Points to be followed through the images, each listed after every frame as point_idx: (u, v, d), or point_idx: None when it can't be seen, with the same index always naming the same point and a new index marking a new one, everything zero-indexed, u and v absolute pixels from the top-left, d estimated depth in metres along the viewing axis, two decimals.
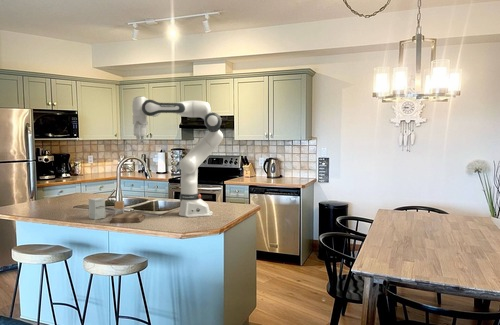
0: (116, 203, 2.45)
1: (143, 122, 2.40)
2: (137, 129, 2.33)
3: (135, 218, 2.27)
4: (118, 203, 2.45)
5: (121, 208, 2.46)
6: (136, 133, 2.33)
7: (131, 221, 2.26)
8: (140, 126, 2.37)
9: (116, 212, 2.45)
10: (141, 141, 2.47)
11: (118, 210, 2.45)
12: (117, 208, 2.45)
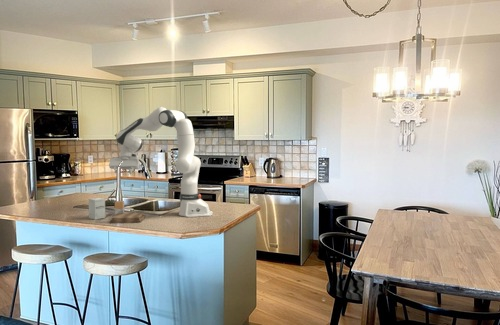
0: (116, 203, 2.45)
1: (120, 155, 2.63)
2: None
3: (135, 218, 2.27)
4: (118, 203, 2.45)
5: (121, 208, 2.46)
6: None
7: (131, 221, 2.26)
8: (115, 159, 2.62)
9: (116, 212, 2.45)
10: (129, 172, 2.58)
11: (118, 210, 2.45)
12: (117, 208, 2.45)
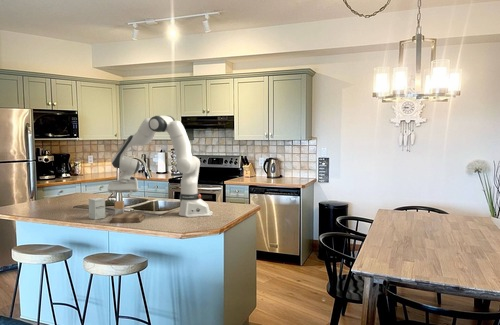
0: (116, 203, 2.45)
1: (119, 178, 2.59)
2: None
3: (135, 218, 2.27)
4: (118, 203, 2.45)
5: (121, 208, 2.46)
6: None
7: (131, 221, 2.26)
8: (114, 183, 2.58)
9: (116, 212, 2.45)
10: (128, 195, 2.54)
11: (118, 210, 2.45)
12: (117, 208, 2.45)
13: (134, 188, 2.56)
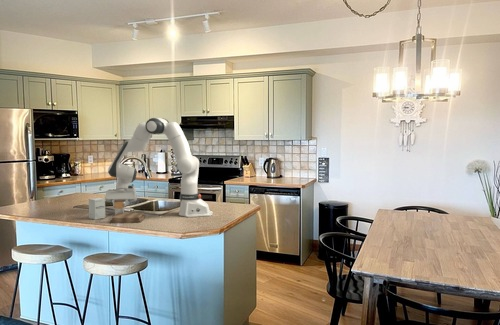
0: (116, 203, 2.45)
1: (116, 187, 2.53)
2: None
3: (135, 218, 2.27)
4: (118, 203, 2.45)
5: (121, 208, 2.46)
6: None
7: (131, 221, 2.26)
8: (111, 192, 2.52)
9: (116, 212, 2.45)
10: None
11: (118, 210, 2.45)
12: (117, 208, 2.45)
13: (132, 197, 2.50)
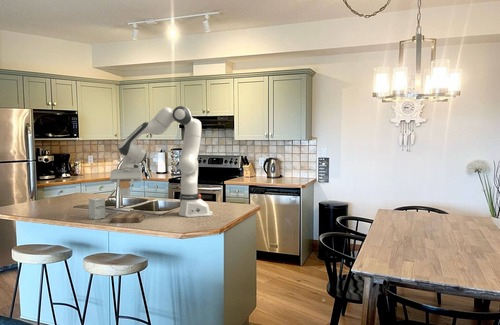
0: (121, 182, 2.35)
1: (121, 167, 2.42)
2: None
3: (135, 218, 2.27)
4: (123, 182, 2.35)
5: (127, 188, 2.35)
6: None
7: (131, 221, 2.26)
8: (116, 171, 2.41)
9: (121, 192, 2.35)
10: (129, 184, 2.37)
11: (123, 189, 2.35)
12: (122, 188, 2.35)
13: (138, 177, 2.39)
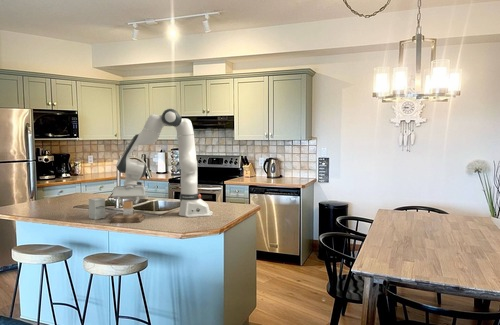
0: (124, 202, 2.31)
1: (124, 184, 2.38)
2: None
3: (135, 218, 2.27)
4: (127, 202, 2.31)
5: (130, 208, 2.31)
6: None
7: (131, 221, 2.26)
8: (119, 188, 2.37)
9: (124, 212, 2.31)
10: None
11: (126, 210, 2.31)
12: (125, 208, 2.31)
13: (141, 194, 2.35)
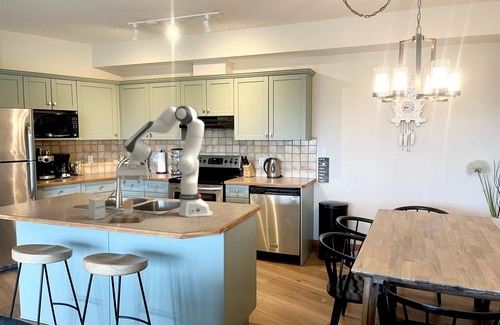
0: (124, 202, 2.31)
1: (128, 164, 2.49)
2: None
3: (135, 218, 2.27)
4: (127, 202, 2.31)
5: (130, 208, 2.31)
6: None
7: (131, 221, 2.26)
8: (123, 168, 2.48)
9: (124, 212, 2.31)
10: (138, 181, 2.44)
11: (126, 210, 2.31)
12: (125, 208, 2.31)
13: (144, 174, 2.46)
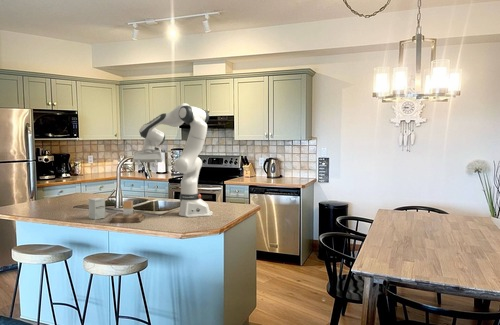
0: (124, 202, 2.31)
1: (143, 149, 2.65)
2: None
3: (135, 218, 2.27)
4: (127, 202, 2.31)
5: (130, 208, 2.31)
6: None
7: (131, 221, 2.26)
8: (139, 153, 2.64)
9: (124, 212, 2.31)
10: (153, 165, 2.60)
11: (126, 210, 2.31)
12: (125, 208, 2.31)
13: (158, 158, 2.62)
